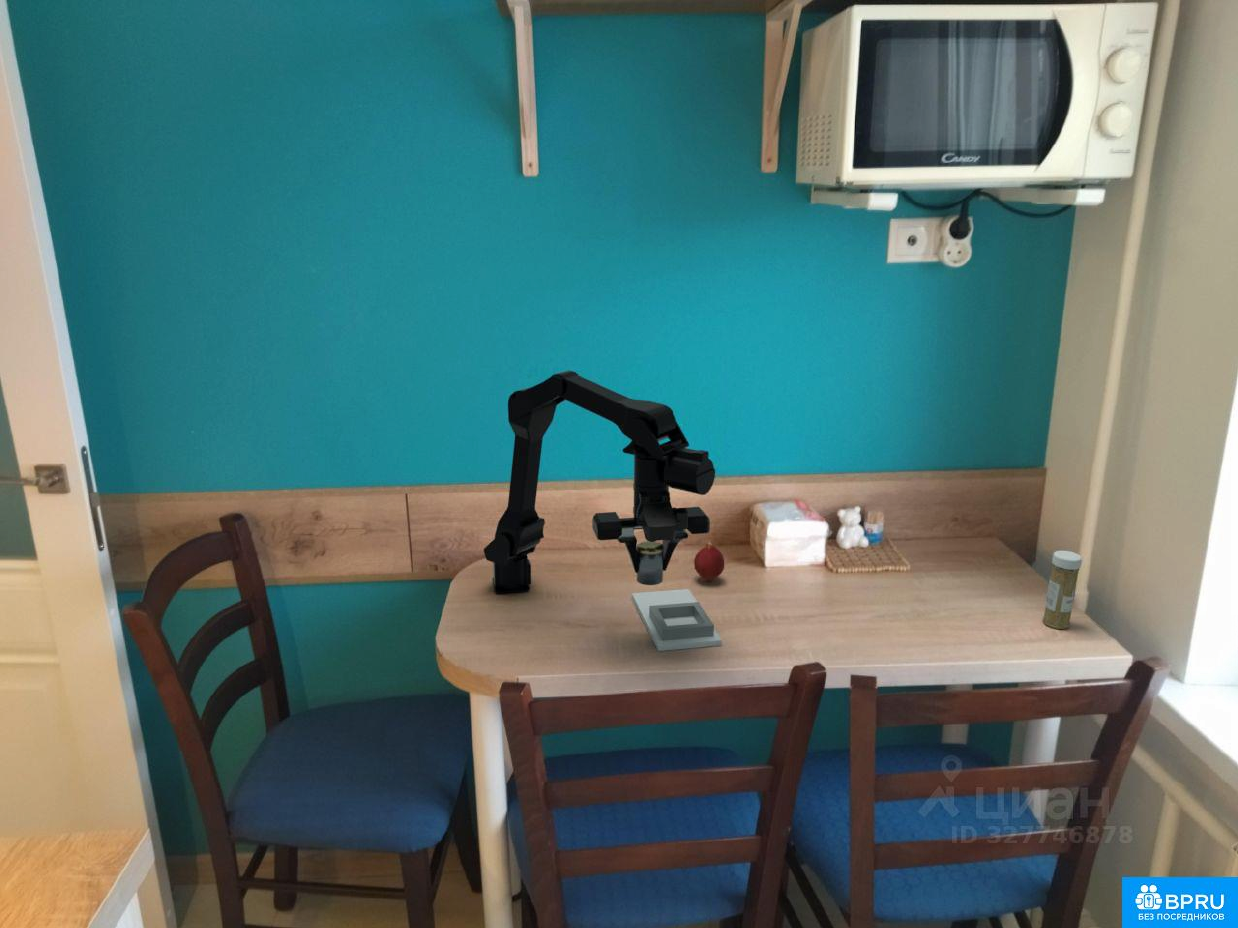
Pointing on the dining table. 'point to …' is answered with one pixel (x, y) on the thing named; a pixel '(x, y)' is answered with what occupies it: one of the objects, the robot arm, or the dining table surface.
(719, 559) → the onion
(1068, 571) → the sprinkles bottle
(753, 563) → the dining table surface
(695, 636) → the dock
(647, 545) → the lidded tin can
